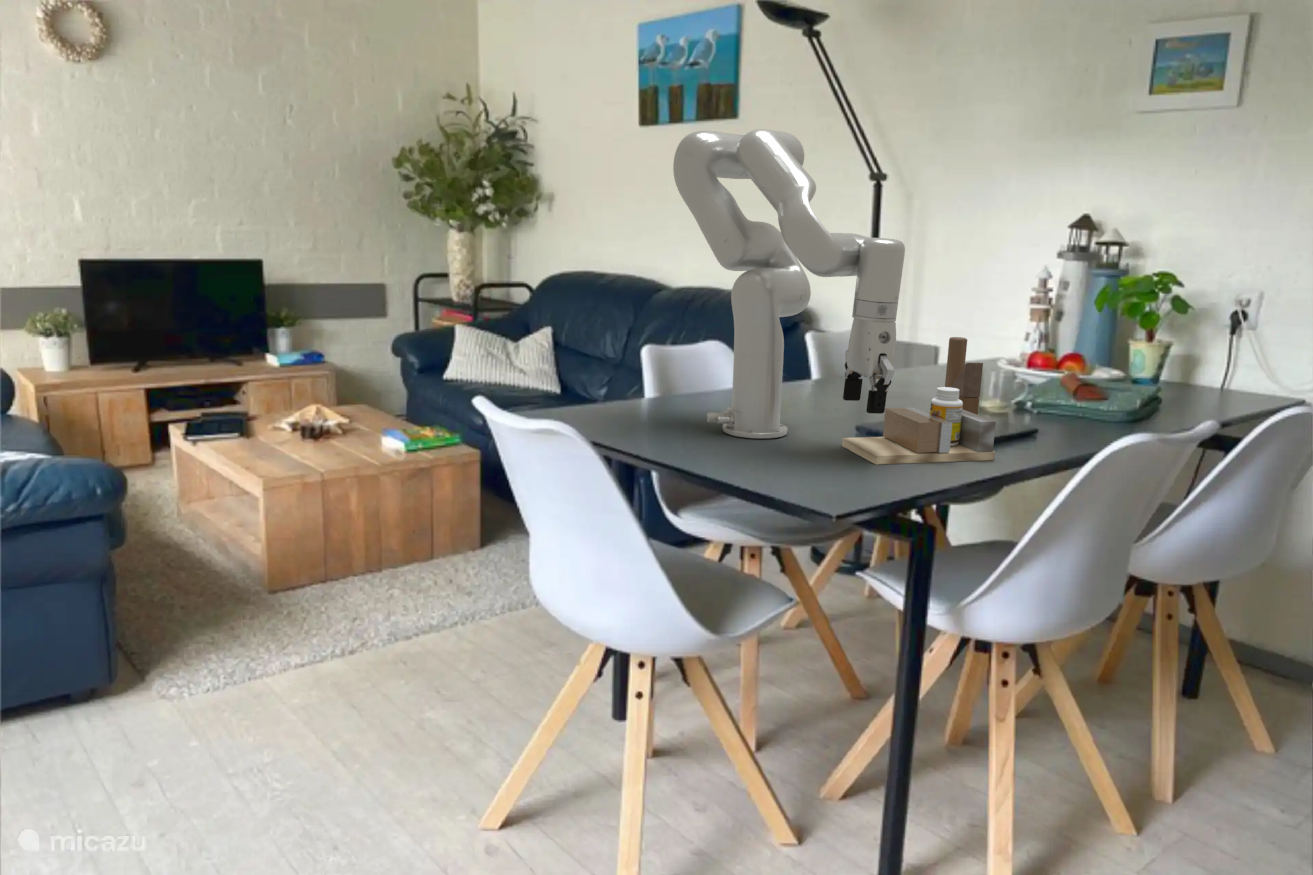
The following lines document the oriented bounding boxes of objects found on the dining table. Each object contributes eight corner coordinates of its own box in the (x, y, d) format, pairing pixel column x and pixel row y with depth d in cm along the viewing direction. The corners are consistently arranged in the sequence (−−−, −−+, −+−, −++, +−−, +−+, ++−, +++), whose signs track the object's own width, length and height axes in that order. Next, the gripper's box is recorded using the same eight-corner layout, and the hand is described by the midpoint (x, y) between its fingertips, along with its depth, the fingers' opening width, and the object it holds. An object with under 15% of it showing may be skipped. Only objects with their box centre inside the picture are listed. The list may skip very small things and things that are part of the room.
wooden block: (959, 432, 195) (968, 343, 191) (937, 421, 205) (945, 336, 201) (977, 432, 195) (986, 343, 191) (954, 421, 206) (962, 336, 202)
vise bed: (875, 464, 167) (878, 424, 166) (841, 445, 180) (844, 408, 179) (994, 460, 173) (998, 421, 171) (953, 442, 186) (956, 406, 184)
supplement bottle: (922, 440, 180) (927, 385, 178) (951, 440, 180) (957, 386, 178) (933, 447, 174) (939, 391, 172) (963, 447, 175) (969, 391, 173)
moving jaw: (918, 453, 169) (921, 423, 167) (881, 435, 182) (883, 407, 181) (949, 452, 170) (952, 422, 169) (910, 434, 183) (913, 407, 182)
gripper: (918, 318, 161) (904, 418, 166) (872, 304, 178) (861, 395, 182) (877, 317, 160) (864, 418, 164) (834, 303, 176) (824, 395, 180)
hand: (862, 406), depth 173 cm, fingers open, 9 cm apart
